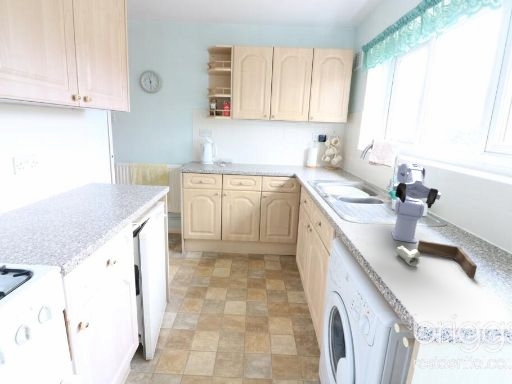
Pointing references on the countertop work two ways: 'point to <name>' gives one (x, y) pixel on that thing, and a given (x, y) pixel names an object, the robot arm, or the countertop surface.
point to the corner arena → (449, 254)
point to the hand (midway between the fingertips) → (416, 202)
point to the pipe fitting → (409, 255)
